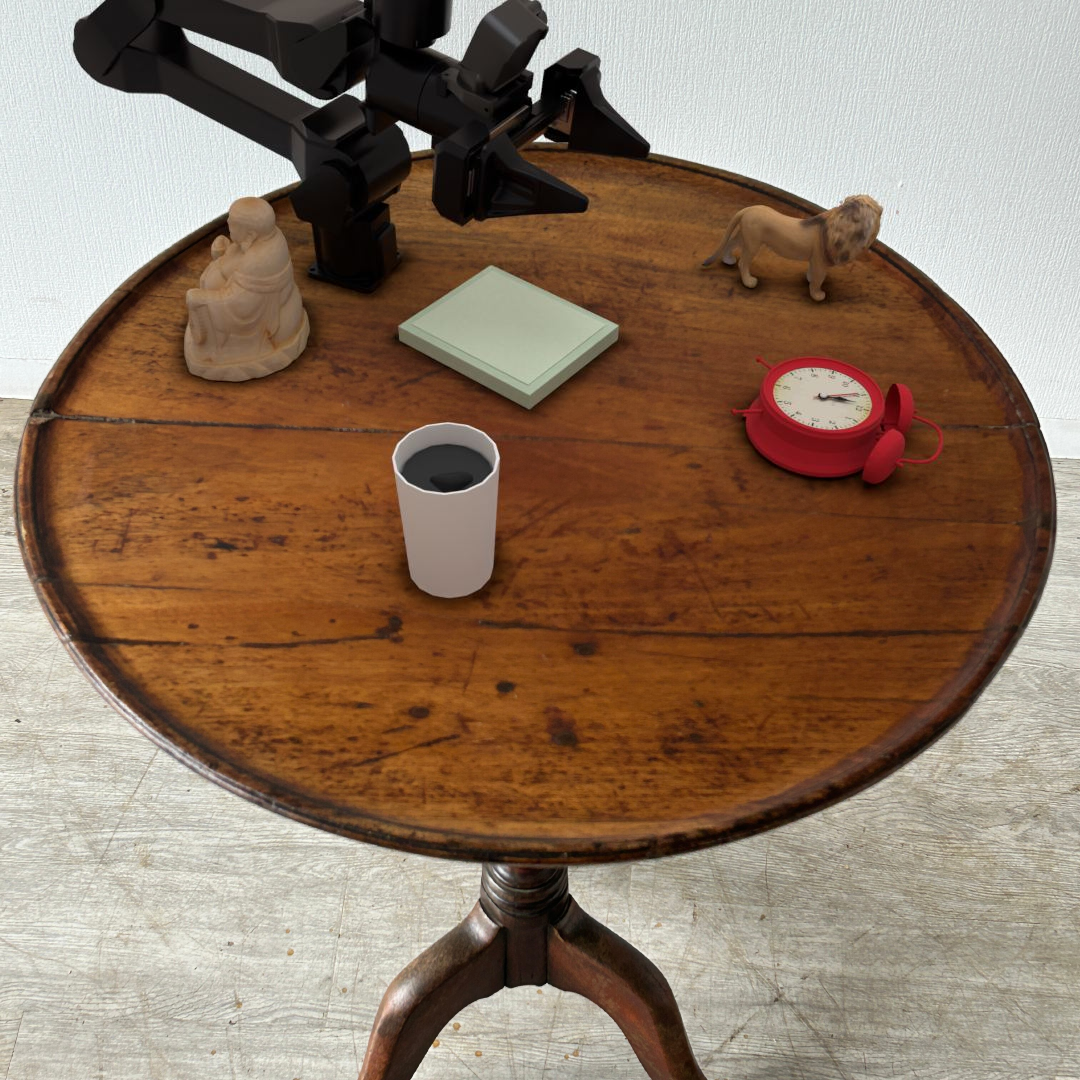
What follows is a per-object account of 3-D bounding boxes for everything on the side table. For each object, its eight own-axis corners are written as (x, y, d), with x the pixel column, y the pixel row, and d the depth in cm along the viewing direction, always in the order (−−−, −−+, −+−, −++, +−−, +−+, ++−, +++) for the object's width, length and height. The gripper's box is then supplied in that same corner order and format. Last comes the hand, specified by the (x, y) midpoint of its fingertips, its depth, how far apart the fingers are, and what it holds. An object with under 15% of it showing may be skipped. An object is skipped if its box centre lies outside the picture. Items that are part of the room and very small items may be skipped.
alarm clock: (757, 338, 90) (956, 350, 84) (761, 402, 94) (951, 418, 88) (721, 416, 83) (934, 435, 77) (727, 481, 87) (930, 504, 81)
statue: (332, 264, 83) (192, 231, 80) (298, 408, 92) (171, 382, 89) (339, 182, 91) (212, 149, 88) (307, 321, 101) (191, 295, 98)
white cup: (520, 565, 77) (522, 457, 70) (449, 619, 74) (443, 511, 66) (453, 516, 80) (448, 408, 73) (382, 566, 77) (369, 457, 69)
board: (399, 340, 94) (397, 324, 93) (491, 279, 101) (491, 263, 100) (529, 410, 88) (529, 393, 87) (618, 339, 95) (619, 323, 94)
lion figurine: (862, 275, 103) (887, 185, 96) (863, 308, 99) (888, 216, 93) (702, 255, 104) (715, 165, 98) (697, 287, 101) (710, 195, 94)
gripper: (365, 33, 73) (570, 125, 69) (519, -52, 84) (702, 23, 80) (363, 184, 81) (545, 273, 77) (503, 89, 93) (668, 163, 89)
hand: (619, 178), depth 81 cm, fingers open, 9 cm apart
